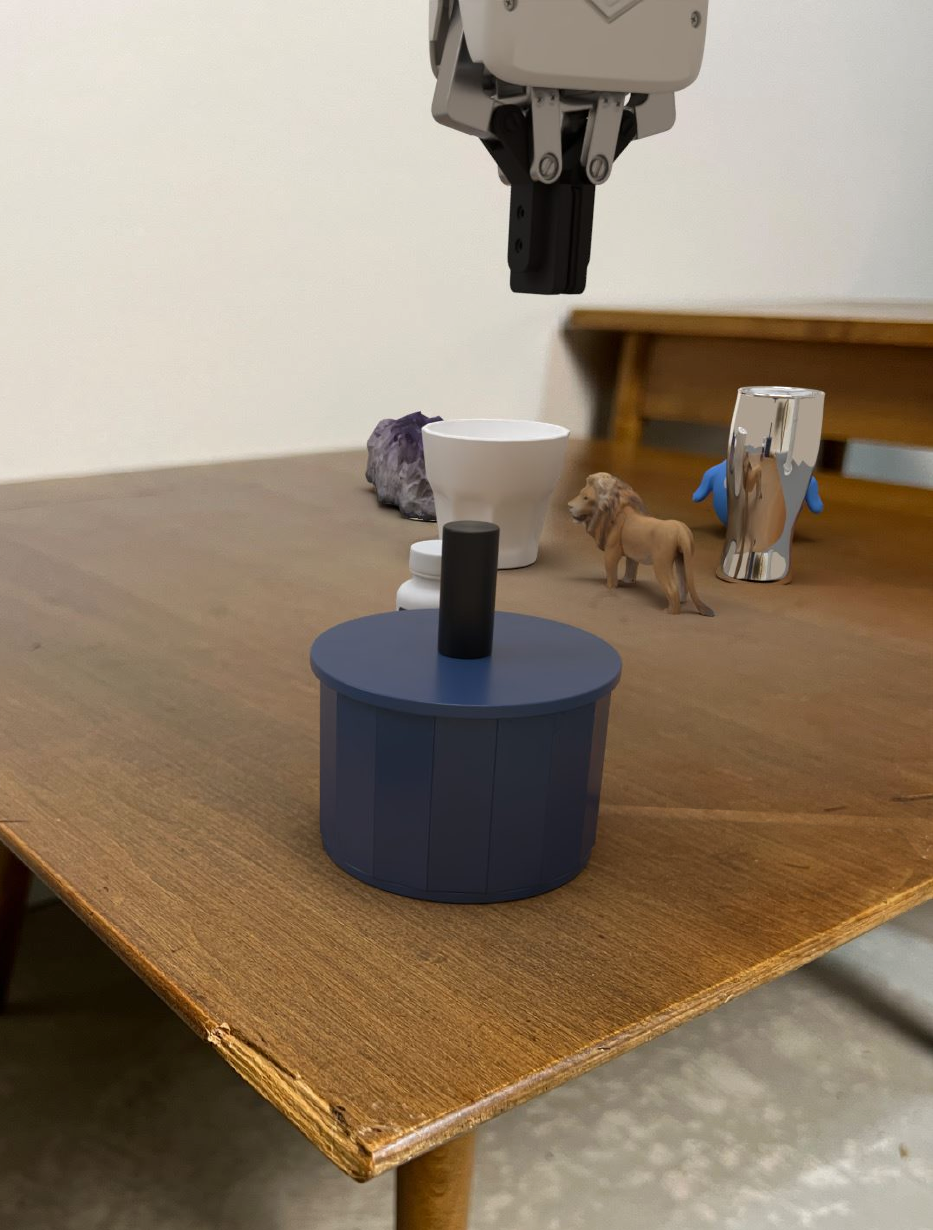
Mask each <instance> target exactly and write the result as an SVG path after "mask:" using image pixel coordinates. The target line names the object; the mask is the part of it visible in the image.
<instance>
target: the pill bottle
mask: <svg viewBox="0 0 933 1230" xmlns="http://www.w3.org/2000/svg"><path fill="white" fill-rule="evenodd" d="M441 556H442V540H440V539H429V540H422V541H421V540H420V541H417V542H415V543H413V544H411V545H410V551H409V561H408V567H409V572H410V573H411V574H412V578H410V579H408V580H406V581H404V582H403V583H402V584H401V585H400V586H399V587H398V589H397V592H396V597H395V611H402V610H413V609H435V608H439V601H440V578H441Z"/></svg>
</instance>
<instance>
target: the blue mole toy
mask: <svg viewBox="0 0 933 1230" xmlns="http://www.w3.org/2000/svg"><path fill="white" fill-rule="evenodd" d="M711 492H712V506H713V509H714V512H715V514H716V516H717V518H718V519H719V521H720V522H721V523H722V524H723V525H724V526H725V527H727V490H726V459H725V460H723V461H722V462H721V463H719V464H717V465H714V466H712V467H710V468H709V469H707V470H706V471H705V473H704V474H703V476H702V479H701V482H700V485H699V486H698V488H697V489H696V490H695V492H693V494H692V501H693V502H694V503H701V502H703V501H704V500H706V498H707V497H708V496H710V493H711ZM804 502H805V503H806V506H807V508H808V510H809V511H810V512H811V513H813V514H814V515H819V514H821V512H823V510H824V504H823V502H822V500H821V497H820V495H819V484H818V481H817V480H816V478H815V477H814V476H812V479H811V482H810V485H809V488H808V491H807V494H806V497H805V500H804ZM803 508H804V504H803V505H802V508H801V511H800V513H801V512H802V511H803Z"/></svg>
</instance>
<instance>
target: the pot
mask: <svg viewBox="0 0 933 1230" xmlns="http://www.w3.org/2000/svg"><path fill="white" fill-rule="evenodd" d="M611 699H612V692H610V693H609V694H608V695H607V696H605V697H603V698H601V699H600V700H598V701H596V702H593V703H591V704H588V705H586V706H583V707H579V708H576V709H572V710H569V711H564V712H559V713H554V714H549V715H541V716H534V717H524V718H512V719H457V718H442V717H433V716H424V715H417V714H411V713H405V712H399V711H394V710H390V709H385V708H381V707H377V706H373V705H370V704H366V703H363V702H360V701H357V700H355V699H352V698H349V697H347V696H345V695H342V694H340V693H338V692H336V691H334V690H332V689H331V688H329V687H328V686H326V685H325V684H323V683H322V682H321V681H320V680H319V834H320V835H321V836H320V837H321V842H322V846H323V848H324V850H325V852H326V853H327V855H328V856H329V858H330V859H331V861H333V863H335V864H336V865H337V866H338V867H339V868H340V869H342V870H343V871H344V872H346V873H347V874H349V875H350V876H351V877H354V878H355V879H357V880H359V881H361V882H363V883H365V884H367V885H370V886H371V887H372V886H373V887H375V888H378V889H380V890H382V891H386V892H388V893H389V892H390V893H391V894H392V893H393V894H396V895H399V896H404V897H408V898H411V899H412V898H413V899H416V900H417V899H418V900H423V901H424V900H425V901H430V902H438V903H439V902H440V903H451V904H490V903H501V902H510V901H515V900H516V901H517V900H522V899H526V898H531V897H534V896H538V895H542V894H545V893H547V892H549V891H552V890H554V889H557V888H559V887H561V886H564V885H565V884H567V883H569V882H570V881H572V880H573V879H574V878H576V877H577V876H578V875H579V874H581V872H582V871H583V870H584V869H585V868H586V867H587V865H588V863H589V861H590V859H591V856H592V851H593V848H594V846H596V839H597V829H598V819H599V809H600V800H601V791H602V783H603V773H604V763H605V754H606V746H607V745H606V744H607V736H608V726H609V716H610V706H611Z"/></svg>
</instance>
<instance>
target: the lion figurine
mask: <svg viewBox="0 0 933 1230" xmlns="http://www.w3.org/2000/svg"><path fill="white" fill-rule="evenodd" d="M585 480H586V481H585V482H586V485H585V487H583V488H582V489H580V492H579V494H578V495H577V496H576V497H574V498H573V499H571V500H570V501H568V502H567V507H568V510H569V512H570V513H571V514H572V522H573V524H575V525H580V524H583V527H584V530H585V533H587V534H588V535H589V536H591V537H592V538H593V539H594V543H595V547H596V548H597V549H598V550H600V551H602V552H604V569H605V575H606V583H602V584H601V586H602V587H605V588H609V589H615V588H618V583H619V577H618V576H619V575H618V569H619V564H620V562H621V560H622V558H623V557H625V570H624V575H623V577H622V579H621V582H622V583H627V584H635V583H636V581H637V575H638V569H639V564H641V565H645V566H652V568H653V571H654V575H655V578H656V580H657V583H658V584H659V586H660V587H661V590H663V592H664V594H665V596H666V598H667V600H668V601H667V602H668V604H669V606H668V607H665V608H664V609H662V612H663V613H665V614H668V615H680V614H681V603H687V599H688V595H689V597H690V599H691V602H692V603H693V604H694V606H695V608H696V610H697V611H698V612H699V613H700V614H701V615H702V616H707V617H714V616H715V612H714V610H713V609H711V608H710V607H709V606H708V605H706V603H704V602H702V600H701V599H700V598H699V596H698V593H697V591H696V585H695V579H694V571H693V570H694V568H693V557H694V555H695V554H694V553H695V538H694V535H693V533H692V530H691V529H690V528H689V527H688V525H686V523H684V522H682V521H680V520H676V519H665V520H663V519H658V518H655V517H654V516H651V515H650V514H649V512H648V511H647V509H646V506H645V502H644V501H643V499H642V497H641V496H640V494H639V493H638V492H637V491H634V490H633V487H632V486H631V485H629V484H628V483H626V482H625V481H624V480H622V479H620V478H619V477H618V476H617V475H616V476H614V475H612V474H611V473H608V472H596V473H593V474H590V475H588V477H585ZM674 566H675V571H676V575H677V580H678V585H677V583H676V581H675V577H674V571H673V569H674V568H673V567H674Z"/></svg>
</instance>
